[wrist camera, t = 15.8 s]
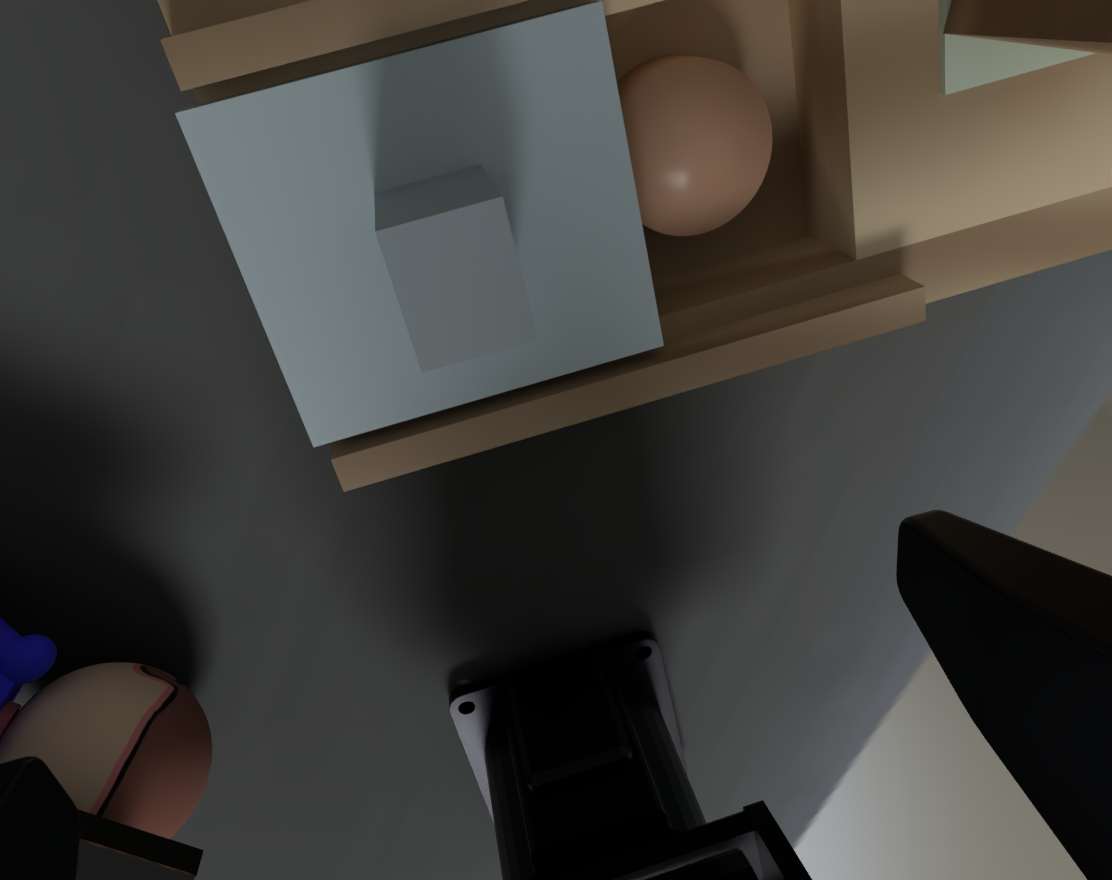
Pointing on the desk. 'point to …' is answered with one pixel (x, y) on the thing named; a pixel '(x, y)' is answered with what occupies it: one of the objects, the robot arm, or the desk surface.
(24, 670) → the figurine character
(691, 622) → the desk surface
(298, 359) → the lid
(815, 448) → the desk surface
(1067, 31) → the peg
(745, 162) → the ball
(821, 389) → the desk surface
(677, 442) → the desk surface
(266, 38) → the puzzle board
